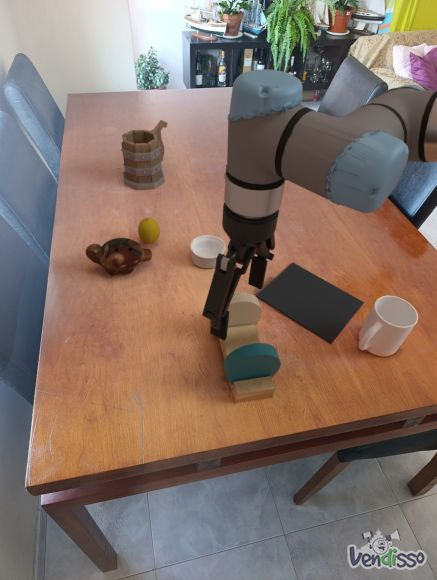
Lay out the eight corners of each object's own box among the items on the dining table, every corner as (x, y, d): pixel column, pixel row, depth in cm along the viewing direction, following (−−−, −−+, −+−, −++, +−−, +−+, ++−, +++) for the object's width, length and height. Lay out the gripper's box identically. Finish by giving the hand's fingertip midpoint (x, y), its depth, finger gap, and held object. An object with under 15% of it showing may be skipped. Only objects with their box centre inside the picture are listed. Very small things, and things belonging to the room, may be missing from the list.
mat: (363, 303, 88) (364, 302, 88) (330, 344, 79) (331, 343, 79) (292, 263, 96) (292, 262, 96) (255, 296, 88) (255, 295, 87)
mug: (367, 372, 75) (387, 342, 67) (337, 343, 80) (353, 312, 72) (404, 346, 80) (427, 316, 72) (374, 321, 84) (392, 289, 77)
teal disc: (275, 381, 70) (285, 350, 63) (223, 389, 68) (228, 359, 61) (272, 370, 72) (281, 339, 64) (221, 377, 70) (225, 347, 63)
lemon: (135, 241, 99) (132, 216, 93) (153, 234, 102) (151, 209, 96) (147, 252, 96) (144, 227, 90) (164, 244, 99) (163, 219, 93)
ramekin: (231, 256, 97) (232, 243, 94) (211, 275, 92) (212, 262, 89) (203, 243, 100) (204, 230, 97) (183, 260, 95) (182, 247, 92)
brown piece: (86, 261, 93) (81, 234, 87) (146, 252, 98) (146, 226, 92) (91, 286, 86) (87, 259, 81) (156, 276, 91) (156, 249, 86)
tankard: (146, 194, 115) (142, 147, 104) (115, 181, 119) (108, 134, 108) (184, 168, 127) (184, 124, 116) (155, 157, 131) (151, 113, 120)
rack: (271, 401, 70) (276, 387, 66) (233, 407, 68) (235, 394, 65) (245, 318, 83) (248, 303, 79) (212, 322, 82) (214, 307, 78)
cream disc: (258, 330, 78) (265, 298, 71) (211, 336, 76) (214, 304, 69) (255, 321, 80) (262, 289, 72) (209, 327, 78) (211, 295, 71)
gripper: (265, 159, 58) (251, 261, 74) (174, 243, 43) (179, 350, 58) (311, 173, 56) (286, 275, 71) (231, 268, 41) (220, 372, 56)
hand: (238, 309), depth 65 cm, fingers open, 13 cm apart
